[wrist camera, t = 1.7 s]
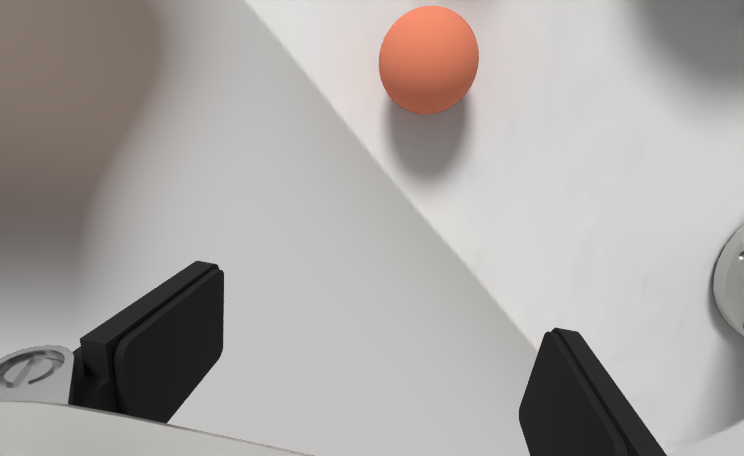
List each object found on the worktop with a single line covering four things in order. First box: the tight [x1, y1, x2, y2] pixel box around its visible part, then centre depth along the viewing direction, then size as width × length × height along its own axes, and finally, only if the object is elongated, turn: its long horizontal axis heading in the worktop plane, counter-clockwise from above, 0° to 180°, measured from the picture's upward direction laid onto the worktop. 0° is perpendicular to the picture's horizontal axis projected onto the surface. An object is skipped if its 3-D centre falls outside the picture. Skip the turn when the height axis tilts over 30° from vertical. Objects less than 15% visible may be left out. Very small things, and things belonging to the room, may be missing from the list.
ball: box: [379, 6, 479, 114], centre depth 23 cm, size 6×6×6 cm
